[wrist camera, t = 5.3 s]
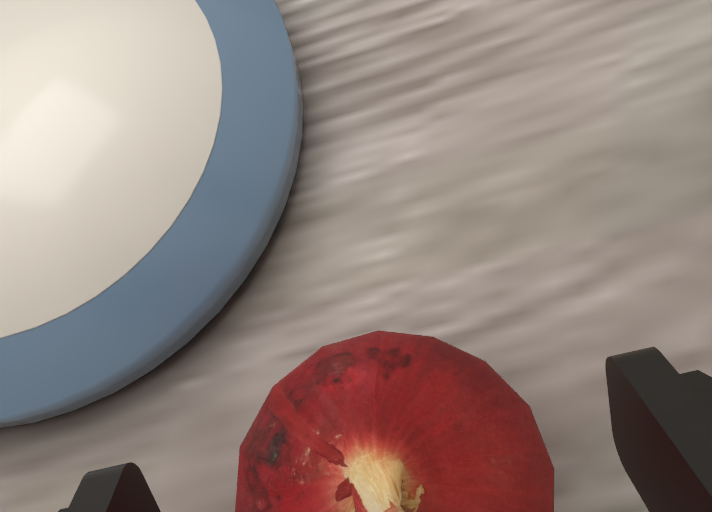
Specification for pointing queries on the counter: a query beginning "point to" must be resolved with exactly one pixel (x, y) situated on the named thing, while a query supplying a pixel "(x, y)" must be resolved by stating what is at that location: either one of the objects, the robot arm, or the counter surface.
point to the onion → (394, 435)
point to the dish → (132, 183)
